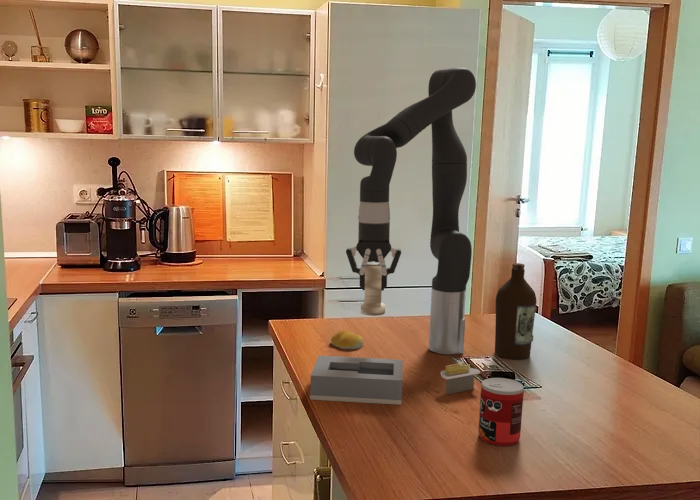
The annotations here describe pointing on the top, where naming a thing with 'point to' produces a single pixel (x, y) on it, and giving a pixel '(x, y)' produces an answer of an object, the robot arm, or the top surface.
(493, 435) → the canned food
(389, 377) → the keyhole plate
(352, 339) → the bread roll
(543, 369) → the top surface
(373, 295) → the maple peg
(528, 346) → the olive oil
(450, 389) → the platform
